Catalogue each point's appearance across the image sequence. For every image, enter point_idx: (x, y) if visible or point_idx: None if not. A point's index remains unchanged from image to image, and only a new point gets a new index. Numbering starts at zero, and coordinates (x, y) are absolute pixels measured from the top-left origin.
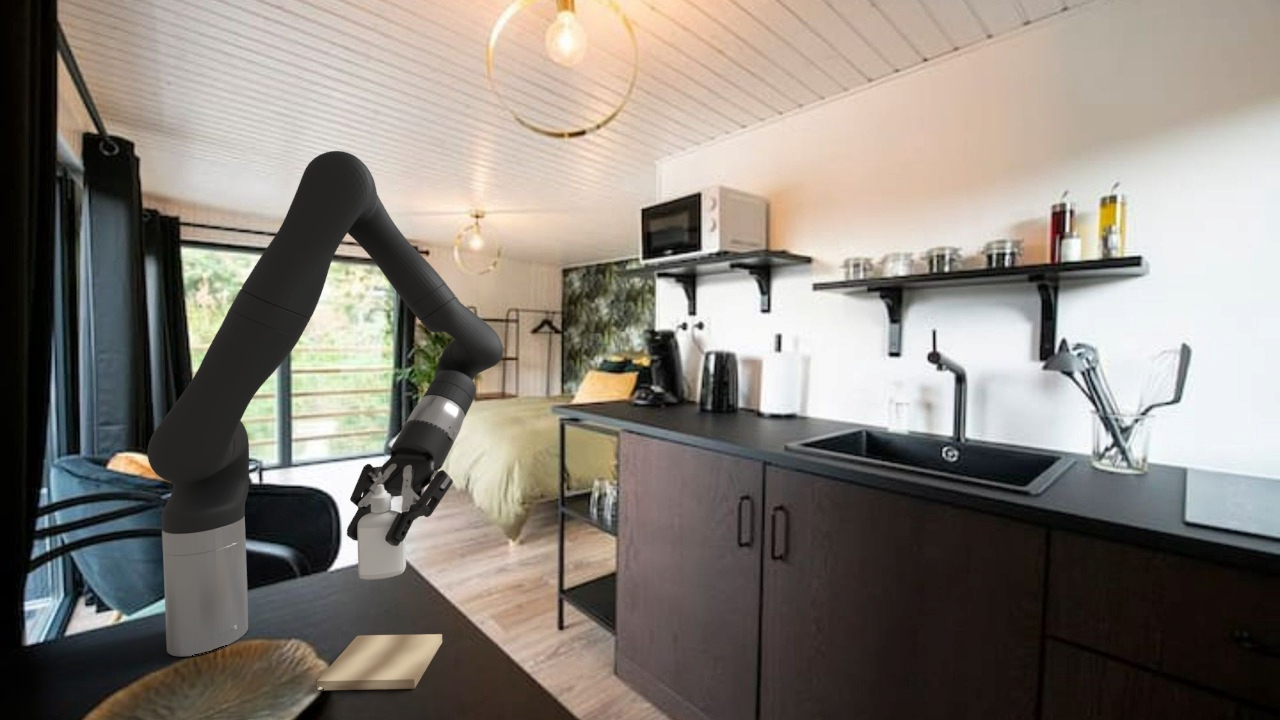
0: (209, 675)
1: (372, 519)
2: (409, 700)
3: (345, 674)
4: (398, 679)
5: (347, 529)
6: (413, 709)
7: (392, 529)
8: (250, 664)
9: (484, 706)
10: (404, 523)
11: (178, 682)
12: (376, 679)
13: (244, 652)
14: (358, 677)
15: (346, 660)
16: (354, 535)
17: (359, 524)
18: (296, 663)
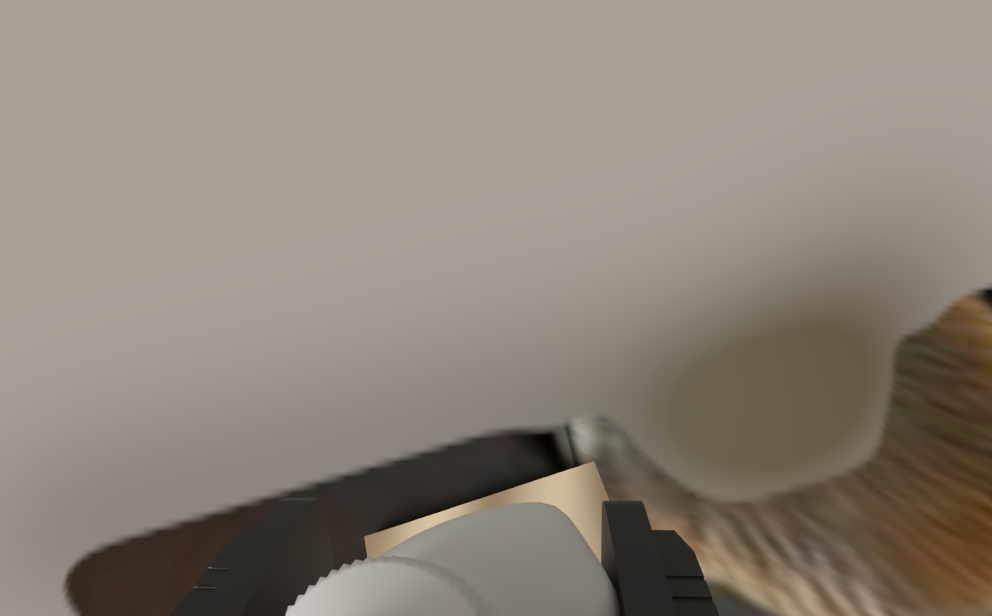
0: (905, 435)
1: (434, 537)
2: (361, 499)
3: (548, 503)
4: (403, 524)
5: (679, 538)
6: (336, 476)
7: (261, 535)
8: (866, 501)
9: (186, 529)
10: (173, 611)
11: (937, 395)
12: (457, 508)
13: (955, 542)
14: (506, 502)
15: (596, 555)
16: (603, 535)
17: (538, 503)
18: (752, 541)
